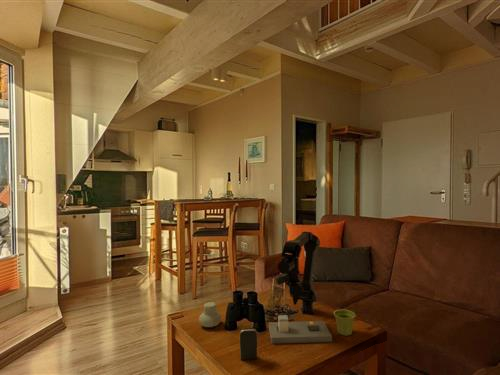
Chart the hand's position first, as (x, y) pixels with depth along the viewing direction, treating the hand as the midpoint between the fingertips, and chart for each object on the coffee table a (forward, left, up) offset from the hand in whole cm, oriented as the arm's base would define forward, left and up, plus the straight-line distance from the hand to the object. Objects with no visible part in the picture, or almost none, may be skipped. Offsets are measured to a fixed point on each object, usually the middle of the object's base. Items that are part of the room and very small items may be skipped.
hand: (293, 300), depth 145 cm
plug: (+8, -6, -12) cm, 16 cm away
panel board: (+8, +1, -12) cm, 15 cm away
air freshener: (-3, -40, -12) cm, 42 cm away
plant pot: (+8, +22, -12) cm, 26 cm away
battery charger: (+25, -22, -12) cm, 35 cm away
